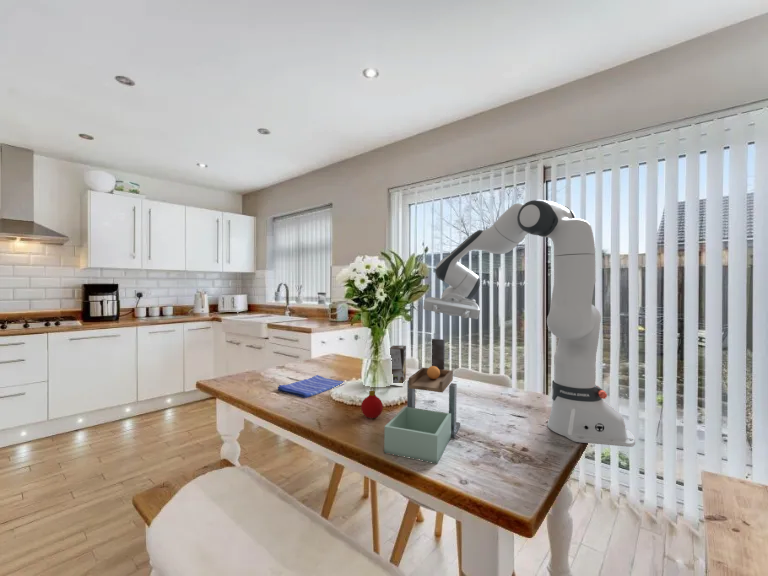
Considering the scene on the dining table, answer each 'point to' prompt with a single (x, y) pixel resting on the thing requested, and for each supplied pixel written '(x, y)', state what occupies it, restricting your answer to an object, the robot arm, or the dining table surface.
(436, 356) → the lever tray
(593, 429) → the robot arm
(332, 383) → the dish towel
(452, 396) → the lever stand
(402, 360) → the coffee box
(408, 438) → the tub
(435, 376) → the ball
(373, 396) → the christmas ornament
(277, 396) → the dining table surface
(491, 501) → the dining table surface
